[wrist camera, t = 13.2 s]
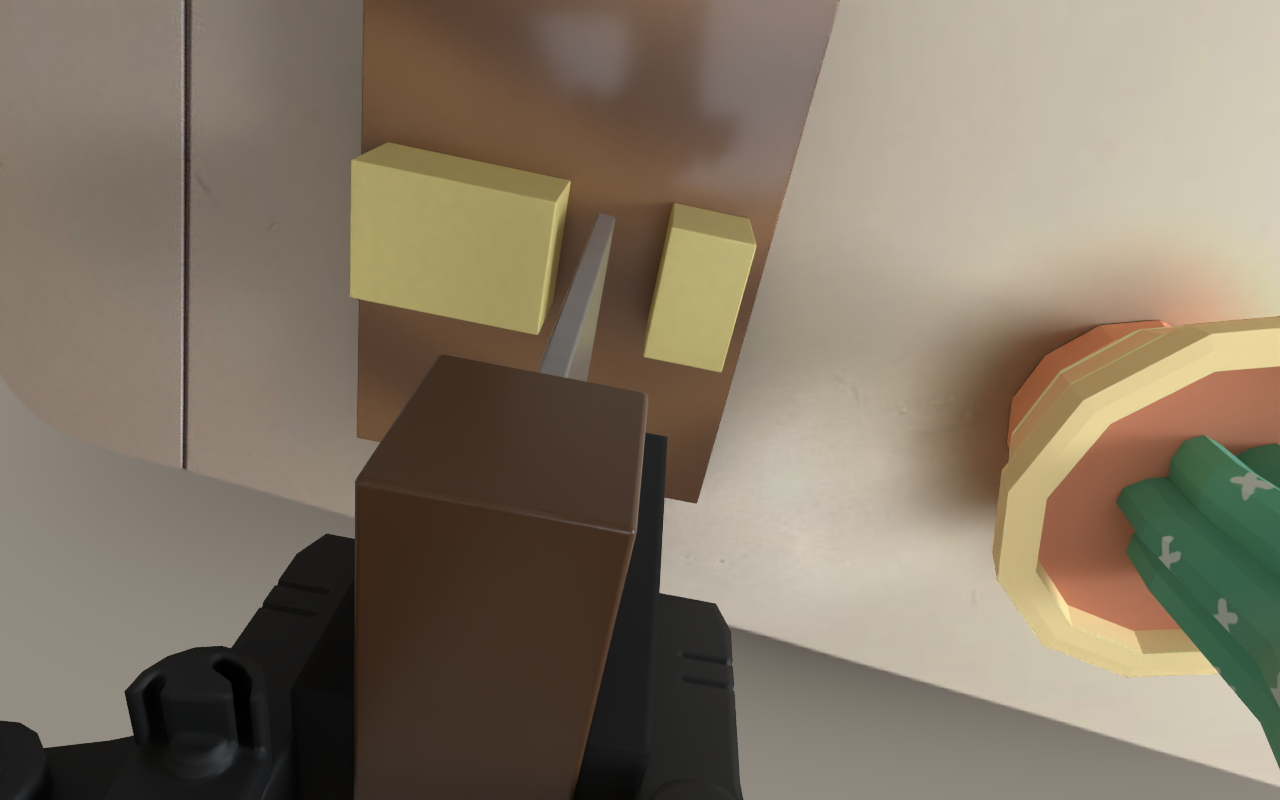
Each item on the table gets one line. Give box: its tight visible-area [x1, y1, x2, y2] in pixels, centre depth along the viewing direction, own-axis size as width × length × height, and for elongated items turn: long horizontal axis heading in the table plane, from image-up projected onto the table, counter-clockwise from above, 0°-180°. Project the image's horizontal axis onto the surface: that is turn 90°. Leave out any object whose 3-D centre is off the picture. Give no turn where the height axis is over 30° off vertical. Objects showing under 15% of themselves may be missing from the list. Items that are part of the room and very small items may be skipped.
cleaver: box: [354, 213, 648, 800], centre depth 13 cm, size 9×2×11 cm, turn 169°
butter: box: [350, 142, 571, 335], centre depth 28 cm, size 5×7×4 cm
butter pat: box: [643, 203, 756, 372], centre depth 28 cm, size 5×3×4 cm, turn 169°
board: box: [357, 0, 840, 503], centre depth 30 cm, size 22×16×2 cm
